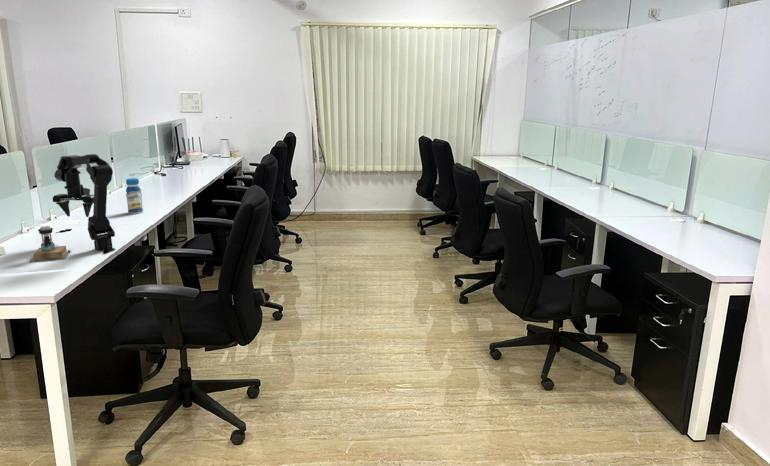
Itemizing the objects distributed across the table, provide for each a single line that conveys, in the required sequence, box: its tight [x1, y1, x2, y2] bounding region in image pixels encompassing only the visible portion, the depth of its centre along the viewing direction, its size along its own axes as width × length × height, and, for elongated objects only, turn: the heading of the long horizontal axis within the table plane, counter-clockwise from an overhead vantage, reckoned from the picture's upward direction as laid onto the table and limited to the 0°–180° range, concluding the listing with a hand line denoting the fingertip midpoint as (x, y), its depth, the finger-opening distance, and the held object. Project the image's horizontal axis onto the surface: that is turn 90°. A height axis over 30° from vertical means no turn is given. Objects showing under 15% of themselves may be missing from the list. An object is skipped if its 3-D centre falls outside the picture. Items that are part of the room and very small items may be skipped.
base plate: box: [29, 249, 72, 263], centre depth 233 cm, size 13×13×2 cm
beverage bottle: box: [125, 177, 144, 215], centre depth 322 cm, size 8×8×20 cm
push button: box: [37, 225, 58, 251], centre depth 231 cm, size 7×5×10 cm
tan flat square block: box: [33, 245, 68, 261], centre depth 232 cm, size 10×10×3 cm
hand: (78, 216), depth 253 cm, fingers open, 9 cm apart
